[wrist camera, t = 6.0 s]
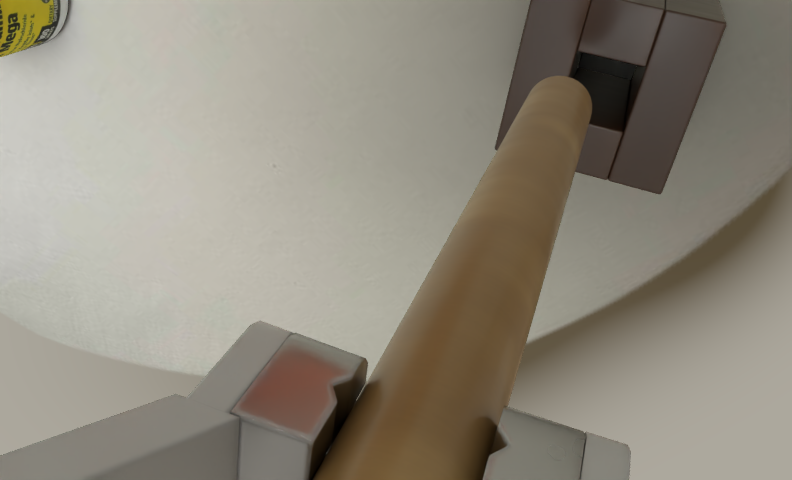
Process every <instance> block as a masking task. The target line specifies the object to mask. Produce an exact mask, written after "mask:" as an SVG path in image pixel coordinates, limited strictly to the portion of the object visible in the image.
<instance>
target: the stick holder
mask: <svg viewBox="0 0 792 480" xmlns="http://www.w3.org/2000/svg"><path fill="white" fill-rule="evenodd" d="M725 28H726V21H725V18H724V15H723V12H722V9H721V6H720V3H719V0H531V1H530V5H529V9H528V14H527V18H526V22H525V26H524V30H523V34H522V38H521V42H520V46H519V51H518V55H517V59H516V63H515V67H514V71H513V75H512V79H511V84H510V88H509V92H508V96H507V100H506V104H505V108H504V112H503V116H502V121H501V125H500V129H499V133H498V137H497V141H496V145H495V150H498V148H499V146H500V145H501V143H502V141H503V139H504V138H505V136H506V134H507V132H508V130H509V129H510V127H511V125H512V123H513V121H514V120H515V118H516V116H517V114H518V113H519V111H520V109H521V107H522V105H523V104H524V102H525V100H526V98H527V97H528V95H529V93H530V91H531V90H532V88H533V87H534V86H535V85H536V84H537V83H539V82H540V81H542V80H543V79H545V78H548V77H552V76H566V77H570V78H573V79H575V80H577V81H578V82H580V83H581V84H582V85H583V86H584V87H585V88H586V89H587V91H588V93H589V95H590V97H591V100H592V114H591V118H590V122H589V125H588V129H587V132H586V135H585V139H584V142H583V146H582V149H581V153H580V156H579V160H578V163H577V167H576V170H575V172H579V173H582V174H586V175H590V176H593V177H597V178H601V179H604V180H607V179H608V180H609V181H612V182H616V183H619V184H623V185H627V186H630V187H634V188H638V189H641V190H645V191H649V192H652V193H656V194H661V193H662V191H663V188H664V186H665V183H666V181H667V178H668V176H669V173H670V170H671V168H672V165H673V163H674V160H675V157H676V155H677V152H678V150H679V147H680V144H681V142H682V139H683V137H684V134H685V131H686V129H687V126H688V124H689V121H690V119H691V116H692V113H693V111H694V108H695V106H696V103H697V100H698V98H699V95H700V93H701V90H702V87H703V85H704V82H705V80H706V77H707V74H708V72H709V69H710V67H711V64H712V62H713V59H714V56H715V54H716V51H717V49H718V46H719V43H720V41H721V38H722V36H723V33H724V30H725ZM582 52H583V53H588V54H592V55H596V56H600V57H604V58H609V59H613V60H617V61H621V62H625V63H630V64H634V65H637V66H636V69H635V72H634V75H633V78H632V81H630V80H628V79H624V78H620V77H616V76H612V75H608V74H603V73H599V72H595V71H591V70H587V69H583V68H578V65H579V61H580V58H581V54H582ZM577 68H578V69H577Z"/></svg>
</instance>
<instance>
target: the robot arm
mask: <svg viewBox="0 0 792 480" xmlns="http://www.w3.org/2000/svg"><path fill="white" fill-rule="evenodd" d="M367 367H368V362H367V360H366V358H363V357H360V356H358V355H355V354H352V353H349V352H347V351H344V350H341V349H339V348H336V347H333V346H330V345H328V344H325V343H322V342H319V341H317V340H314V339H311V338H308V337H306V336H303V335H300V334H297V333H292V332H290V331H287V330H284V329H282V328H279V327H276V326H273V325H271V324H268V323H265V322H262V321H258V322H256V323H254V324H252V325H250V326H249V327H248V328H247V329H246V330H245V332H244V333H243V334H242V335H241V336H240V337H239V338H238V340H237V341H236V342H235V343H234V344H233V345H232V346H231V348H230V349H229V350H228V351H227V352H226V353H225V354H224V355H223V357H222V358H221V359H220V360H219V361H218V362H217V363H216V365H215V366H214V367H213V368H212V369H211V370H210V371H209V373H208V374H207V375H206V376H205V377H204V378H203V379H202V381H201V382H200V383H199V384H198V385H197V386H196V387H195V389H194V390H193V391H192V392H191V393H190V394H189V395H188V397H187V398H186V397H183V396H180V395H178V394H174V395H171V396H168V397H166V398H163V399H160V400H157V401H154V402H152V403H148V404H146V405H143V406H140V407H137V408H134V409H132V410H128V411H126V412H123V413H120V414H117V415H114V416H111V417H109V418H106V419H103V420H100V421H97V422H94V423H91V424H89V425H86V426H83V427H80V428H77V429H74V430H72V431H69V432H66V433H63V434H60V435H58V436H55V437H52V438H49V439H46V440H43V441H40V442H37V443H35V444H32V445H29V446H26V447H23V448H20V449H17V450H15V451H12V452H9V453H6V454H3V455H0V480H312V479H313V478H314V476H315V474H316V472H317V471H318V469H319V467H320V465H321V463H322V462H323V460H324V458H325V456H326V454H327V453H328V451H329V449H330V447H331V446H332V444H333V442H334V440H335V438H336V437H337V435H338V433H339V431H340V430H341V428H342V426H343V424H344V422H345V421H346V419H347V417H348V415H349V414H350V412H351V410H352V408H353V406H354V405H355V403H356V399H357V397H358V396H359V394H360V392H361V390H362V388H363V387H364V385H365V381H366V374H367ZM630 455H631V451H630V449H629V447H628V445H626V444H623V443H620V442H617V441H614V440H610V439H607V438H604V437H601V436H598V435H595V434H592V433H589V432H585V433H584V432H583V431H580V430H577V429H574V428H571V427H568V426H565V425H562V424H559V423H556V422H553V421H550V420H547V419H544V418H541V417H538V416H535V415H532V414H529V413H526V412H523V411H520V410H517V409H514V408H511V407H508V406H505V405H504V407H503V411H502V414H501V417H500V420H499V423H498V427H497V430H496V433H495V436H494V440H493V443H492V446H491V449H490V453H489V456H488V459H487V462H486V468H485V471H484V474H483V477H482V480H629V475H630V457H631V456H630Z"/></svg>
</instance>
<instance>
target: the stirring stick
mask: <svg viewBox="0 0 792 480" xmlns="http://www.w3.org/2000/svg"><path fill="white" fill-rule="evenodd" d="M591 114H592V100H591V97H590V95H589V93H588V91H587V89H586V88H585V87H584V86H583V85H582V84H581V83H580V82H578V81H577V80H575V79H573V78H570V77H566V76H552V77H548V78H545V79H543V80H542V81H540V82H539V83H537V84H536V85H535V86H534V87H533V88H532V90H531V91H530V93H529V95H528V97H527V98H526V100H525V102H524V104H523V105H522V107H521V109H520V111H519V113H518V114H517V116H516V118H515V120H514V121H513V123H512V125H511V127H510V129H509V130H508V132H507V134H506V136H505V138H504V139H503V141H502V143H501V145H500V146H499V148H498V150H497V152H496V154H495V155H494V157H493V159H492V161H491V162H490V164H489V166H488V168H487V170H486V171H485V173H484V175H483V177H482V178H481V180H480V182H479V184H478V186H477V187H476V189H475V191H474V193H473V194H472V196H471V198H470V200H469V202H468V203H467V205H466V207H465V209H464V211H463V212H462V214H461V216H460V218H459V219H458V221H457V223H456V225H455V227H454V228H453V230H452V232H451V234H450V235H449V237H448V239H447V241H446V243H445V244H444V246H443V248H442V250H441V251H440V253H439V255H438V257H437V259H436V260H435V262H434V264H433V266H432V267H431V269H430V271H429V273H428V275H427V276H426V278H425V280H424V282H423V284H422V285H421V287H420V289H419V291H418V292H417V294H416V296H415V298H414V300H413V301H412V303H411V305H410V307H409V308H408V310H407V312H406V314H405V316H404V317H403V319H402V321H401V323H400V324H399V326H398V328H397V330H396V332H395V333H394V335H393V337H392V339H391V341H390V342H389V344H388V346H387V348H386V349H385V351H384V353H383V355H382V357H381V358H380V360H379V362H378V364H377V365H376V367H375V369H374V371H373V373H372V374H371V376H370V378H369V380H368V381H367V383H366V385H365V387H364V389H363V390H362V392H361V394H360V396H359V397H358V400H357V401H356V403H355V405H354V406H353V408H352V410H351V412H350V414H349V415H348V417H347V419H346V421H345V422H344V424H343V426H342V428H341V430H340V431H339V433H338V435H337V437H336V438H335V440H334V442H333V444H332V446H331V447H330V449H329V451H328V453H327V454H326V456H325V458H324V460H323V462H322V463H321V465H320V467H319V469H318V471H317V472H316V474H315V476H314V478H313V479H312V480H482V477H483V474H484V471H485V468H486V462H487V459H488V456H489V453H490V449H491V446H492V443H493V440H494V436H495V433H496V430H497V427H498V423H499V420H500V417H501V414H502V411H503V407H504V405H505V406H508V403H509V400H510V396H511V393H512V389H513V386H514V382H515V379H516V375H517V371H518V368H519V365H520V361H521V358H522V354H523V351H524V347H525V344H526V341H527V337H528V334H529V330H530V327H531V323H532V320H533V316H534V313H535V309H536V306H537V302H538V299H539V295H540V292H541V288H542V285H543V281H544V278H545V274H546V271H547V268H548V264H549V261H550V257H551V254H552V250H553V247H554V243H555V240H556V236H557V233H558V229H559V226H560V222H561V219H562V215H563V212H564V208H565V205H566V202H567V198H568V195H569V191H570V188H571V184H572V181H573V177H574V174H575V170H576V167H577V163H578V160H579V156H580V153H581V149H582V146H583V142H584V139H585V135H586V132H587V129H588V125H589V122H590V118H591Z"/></svg>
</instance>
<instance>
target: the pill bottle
mask: <svg viewBox="0 0 792 480" xmlns="http://www.w3.org/2000/svg"><path fill="white" fill-rule="evenodd" d="M67 10H68V0H0V57H3V56H6V55H9V54H12V53H15V52H19V51H22V50H25V49H28V48H31V47H35V46H38V45H40V44H43V43H45V42H47V41H49V40H51V39H52V38H53V37H55V36H56V35H57V34H58V33H59V31H60V30H61V28H62V26H63V24H64V22H65V19H66V15H67Z"/></svg>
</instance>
